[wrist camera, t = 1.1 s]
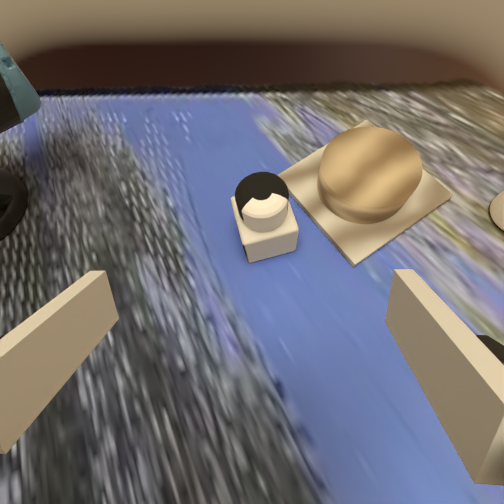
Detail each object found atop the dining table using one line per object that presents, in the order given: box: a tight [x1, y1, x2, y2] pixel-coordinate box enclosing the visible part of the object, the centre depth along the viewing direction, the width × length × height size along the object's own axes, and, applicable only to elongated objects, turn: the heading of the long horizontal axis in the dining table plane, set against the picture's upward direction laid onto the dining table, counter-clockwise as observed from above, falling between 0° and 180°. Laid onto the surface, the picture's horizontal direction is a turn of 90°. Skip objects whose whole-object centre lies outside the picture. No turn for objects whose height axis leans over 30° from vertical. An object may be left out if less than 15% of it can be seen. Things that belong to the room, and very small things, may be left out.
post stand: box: [277, 120, 453, 267], centre depth 41 cm, size 18×18×6 cm
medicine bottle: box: [231, 172, 299, 263], centre depth 37 cm, size 7×7×12 cm
